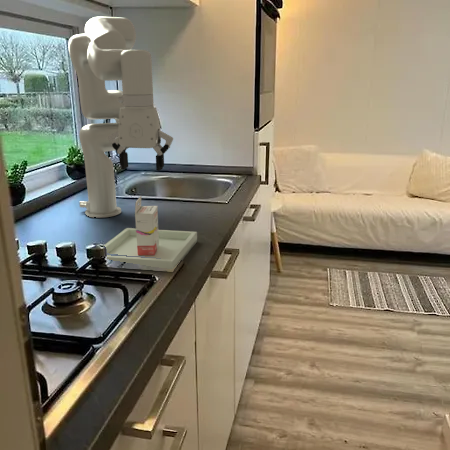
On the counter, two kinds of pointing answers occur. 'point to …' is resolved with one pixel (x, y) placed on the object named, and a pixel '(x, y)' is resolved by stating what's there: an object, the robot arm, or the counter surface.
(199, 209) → the counter surface
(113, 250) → the sage tray
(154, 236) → the ink cartridge box
